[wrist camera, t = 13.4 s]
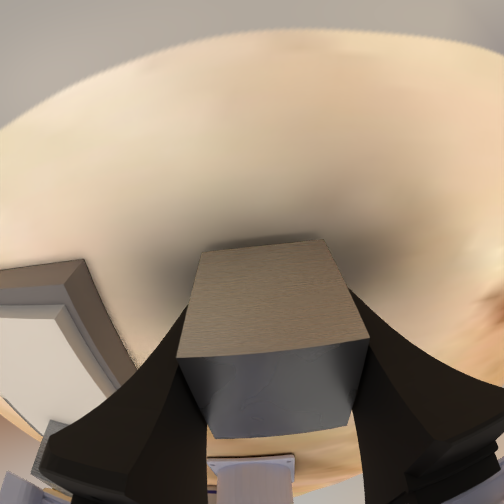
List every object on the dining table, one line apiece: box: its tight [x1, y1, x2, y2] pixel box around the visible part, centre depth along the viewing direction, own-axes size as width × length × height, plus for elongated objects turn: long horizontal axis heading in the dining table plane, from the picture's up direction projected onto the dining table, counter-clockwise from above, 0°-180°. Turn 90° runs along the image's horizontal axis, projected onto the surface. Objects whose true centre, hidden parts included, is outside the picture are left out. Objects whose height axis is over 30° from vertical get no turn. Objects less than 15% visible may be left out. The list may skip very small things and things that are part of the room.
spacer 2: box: [176, 239, 370, 439], centre depth 9 cm, size 4×4×5 cm
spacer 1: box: [31, 420, 73, 498], centre depth 13 cm, size 4×4×5 cm
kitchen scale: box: [0, 259, 137, 436], centre depth 15 cm, size 18×16×3 cm
